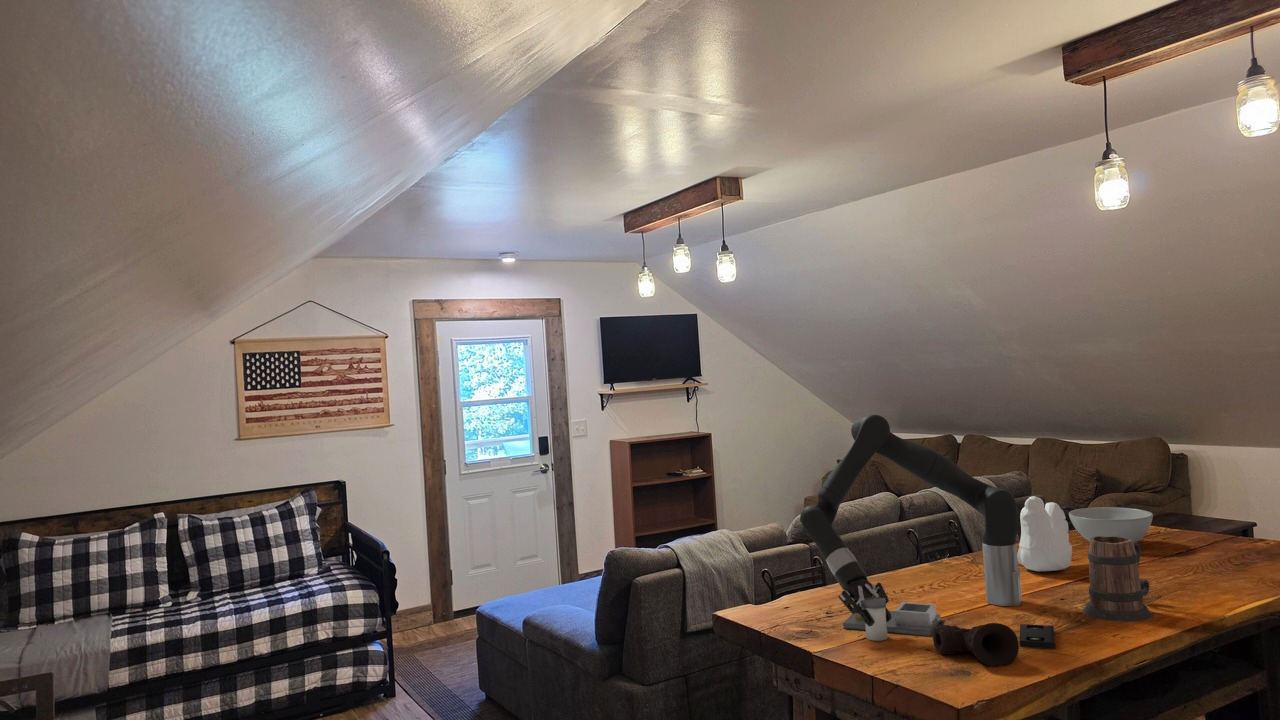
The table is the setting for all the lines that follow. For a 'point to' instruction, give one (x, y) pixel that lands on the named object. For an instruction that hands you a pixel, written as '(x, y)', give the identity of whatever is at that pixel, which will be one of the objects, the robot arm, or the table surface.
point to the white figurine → (1044, 537)
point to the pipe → (979, 642)
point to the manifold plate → (904, 619)
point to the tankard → (1116, 581)
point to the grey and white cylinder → (876, 618)
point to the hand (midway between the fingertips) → (880, 622)
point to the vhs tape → (1037, 636)
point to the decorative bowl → (1111, 522)
